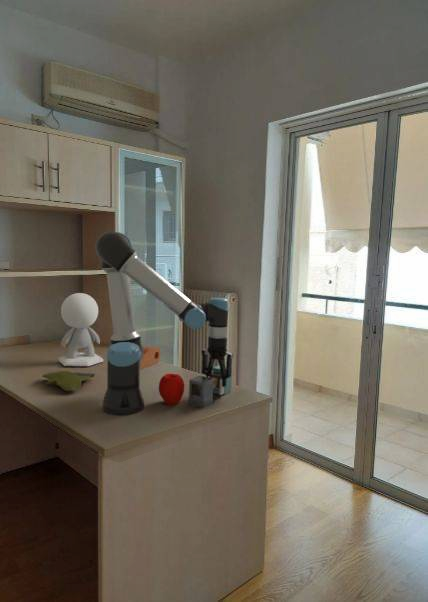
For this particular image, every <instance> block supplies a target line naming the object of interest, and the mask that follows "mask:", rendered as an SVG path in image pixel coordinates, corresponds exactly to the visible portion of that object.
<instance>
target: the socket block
mask: <svg viewBox="0 0 428 602" xmlns="http://www.w3.org/2000/svg"><path fill="white" fill-rule="evenodd" d="M225 367H226V365H225ZM212 373H221V371H220V365H219V364H218V365H216V366H213V369H212ZM232 377H233V367H232V368H231V377H229V378H227V381H226V386H225V387H224V394H222V395H224V396H226V395H227V394H229V393H231V392H232V380H233V379H232ZM219 392H220V388H218V387H214V388H213V394H219Z"/></svg>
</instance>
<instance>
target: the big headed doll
mask: <svg viewBox="0 0 428 602" xmlns="http://www.w3.org/2000/svg"><path fill="white" fill-rule="evenodd" d="M60 315H61V318H62V321H64V323H65V324H66V325H67V326H69V327H71V328H70V329H69V330H68V331H67V332H66V333H65V334H64V336H63V337H62V339H61V342H60V346H61V348H65V347H66V345H68V348H67V351H66V352H67V353H66V355H63V356H60V357H59V358H58V360H57V361H58V362H59V363H60V364H61V365H63V366H64V367H91V366H93V365H94V366H95V365H96V364H99V363H103V362H104V361H105V360H104V359H103V358H102V357H101V356H100V355H98V354H97V353H95V352H96V351H95V348H94V343H95V342H96V344H97V345H100V344H101V343H100V342H101V340H100V339H101V337H100V336H99V334H98V333H97V332H96V331H95V330H94V329H93V328H92V327H90V326H92V325H93V324H94V323H95V322H96V320H97V319H98V317H99V306H98V303H97V302H96V300H95V299H94V297H92V296H91V295H90V294H87V293H84V292H83V293H82V292H77V293H73V294H70V295H69V296H67V297H65V299H64V301H63V302H62V304H61V306H60ZM79 349H83V352H79Z"/></svg>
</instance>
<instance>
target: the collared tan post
mask: <svg viewBox="0 0 428 602" xmlns="http://www.w3.org/2000/svg"><path fill="white" fill-rule="evenodd" d="M209 378H213V388H214V387H218V388H220V379H221V378H222V376H221V373H213V372H212V373H211V374H209ZM200 390H202V386H201V385H200Z"/></svg>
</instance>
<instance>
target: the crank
mask: <svg viewBox="0 0 428 602" xmlns="http://www.w3.org/2000/svg"><path fill="white" fill-rule="evenodd" d="M142 348H143V352H144V354H143V359H142V361H141V364H140V371H141V370H144V369H146V368H149V367H151V366H153V365H155V364H158V363H159V361H160V360H161V355H162V351H161V349H160V347H154V346H145V345H144V346H143V345H142Z"/></svg>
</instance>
